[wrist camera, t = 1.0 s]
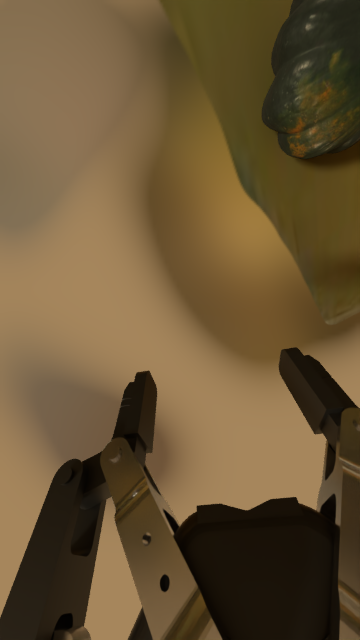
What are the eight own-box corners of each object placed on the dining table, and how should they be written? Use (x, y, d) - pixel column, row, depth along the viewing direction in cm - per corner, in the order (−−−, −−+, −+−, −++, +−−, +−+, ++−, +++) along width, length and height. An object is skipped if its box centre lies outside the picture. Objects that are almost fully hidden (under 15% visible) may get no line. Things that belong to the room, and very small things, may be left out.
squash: (222, 53, 18) (347, 119, 14) (402, -270, 11) (792, -365, 7) (255, 151, 30) (329, 204, 25) (354, 23, 23) (482, 64, 18)
